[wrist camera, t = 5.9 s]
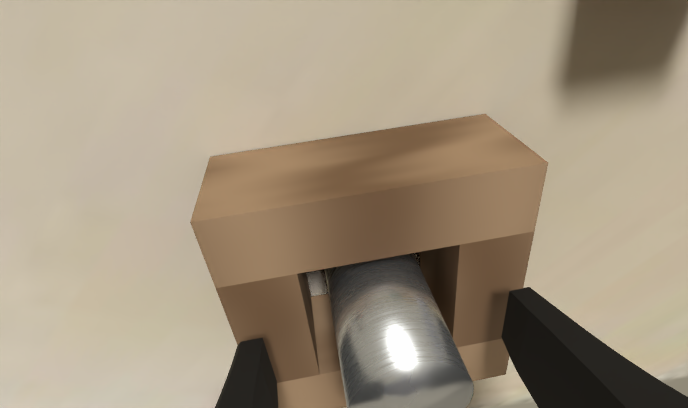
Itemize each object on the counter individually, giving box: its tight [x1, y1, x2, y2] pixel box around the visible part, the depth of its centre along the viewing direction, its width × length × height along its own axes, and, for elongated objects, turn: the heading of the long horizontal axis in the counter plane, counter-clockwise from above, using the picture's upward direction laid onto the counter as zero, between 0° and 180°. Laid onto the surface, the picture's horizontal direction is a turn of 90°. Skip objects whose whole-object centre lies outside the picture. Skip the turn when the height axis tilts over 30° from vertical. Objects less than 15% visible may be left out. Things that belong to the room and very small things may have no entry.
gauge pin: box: [325, 253, 474, 408], centre depth 13 cm, size 3×3×6 cm
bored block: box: [190, 114, 548, 408], centre depth 14 cm, size 9×9×4 cm
